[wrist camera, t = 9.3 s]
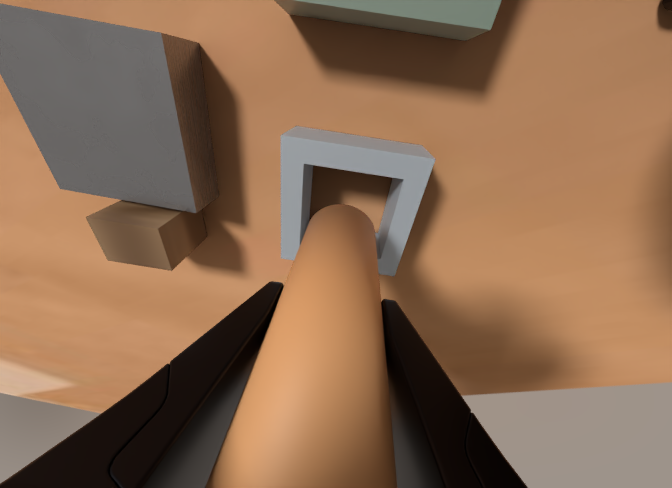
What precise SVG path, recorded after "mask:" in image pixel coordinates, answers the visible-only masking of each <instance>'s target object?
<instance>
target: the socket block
mask: <svg viewBox="0 0 672 488" xmlns="http://www.w3.org/2000/svg"><path fill="white" fill-rule="evenodd" d="M434 162H435V158H434V157H433V156H432V155H431V154H430V153H429V152H428V151H427V150H426V149H425V148H424V147H423V146H422V145H416V144H410V143H403V142H397V141H391V140H384V139H378V138H371V137H365V136H358V135H352V134H345V133H339V132H332V131H326V130H320V129H313V128H307V127H300V126H295V127H294V128H292V129H290V130H289V131H287V132H285V133H284V134H282V135H281V258H282V259H288V260H294V259H295V257H296V254H297V252H298V249H299V247H300V244H301V242H302V239H303V237H304V234H305V231H306V229H307V226H308V224H309V217H310V203H311V189H312V176H313V165H315V166H322V167H328V168H334V169H341V170H347V171H354V172H360V173H366V174H373V175H379V176H386V177H392V182H391V186H390V190H389V193H388V197H387V201H386V205H385V209H384V212H383V216H382V220H381V224H380V227H379V231H378V233H375V237H376V249H377V260H378V272H379V274H383V275H389V276H395V273H396V271H397V268H398V265H399V262H400V259H401V256H402V253H403V251H404V248H405V245H406V242H407V239H408V236H409V233H410V231H411V228H412V225H413V222H414V219H415V216H416V213H417V211H418V208H419V205H420V202H421V199H422V196H423V194H424V191H425V188H426V185H427V182H428V179H429V176H430V174H431V171H432V168H433V165H434Z"/></svg>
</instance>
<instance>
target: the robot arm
mask: <svg viewBox="0 0 672 488" xmlns="http://www.w3.org/2000/svg"><path fill="white" fill-rule="evenodd" d="M663 6H664V8H665V9H667V10H669V11H672V0H663ZM283 288H284V286H283V284H282V283H280V282H274V281H271V282H269V283H268V284H266V285H265V286H264V287H263V288H261V289H260V290H259V291H258V292H256V293H255V294H254V295H253V296H251V297H250V298H249V299H248V300H246V301H245V302H244V303H243V304H241V305H240V306H239V307H238V308H236V309H235V310H234V311H233V312H231V313H230V314H229V315H228V316H226V317H225V318H224V319H223V320H221V321H220V322H219V323H218V324H216V325H215V326H214V327H213V328H211V329H210V330H209V331H208V332H206V333H205V334H204V335H203V336H201V337H200V338H199V339H198V340H196V341H195V342H194V343H193V344H191V345H190V346H189V347H188V348H187V349H185V350H184V351H183V352H182V353H180V354H179V355H178V356H177V357H175V358H174V359H173V360H172V361H171V362H170V364H166V365H165V366H164V367H163V368H161V369H160V370H159V371H158V372H156V373H155V374H154V375H153V376H151V377H150V378H149V379H147V380H146V381H145V382H144V383H142V384H141V385H140V386H138V387H137V388H136V389H134V390H133V391H132V392H131V393H129V394H128V395H127V396H125V397H124V398H123V399H121V400H120V401H118V402H117V403H116V404H114V405H113V406H111V407H110V408H109V409H107V410H106V411H104V412H103V413H102V414H100V415H99V416H98V417H96V418H95V419H93V420H92V421H90V422H89V423H88V424H86V425H85V426H83V427H82V428H80V429H79V430H77V431H76V432H75V433H73V434H72V435H70V436H69V437H67V438H66V439H65V440H63V441H61V442H60V443H59V444H57V445H56V446H54V447H53V448H51V449H50V450H49V451H47V452H46V453H44V454H43V455H41V456H40V457H38V458H37V459H36V460H34V461H33V462H31V463H30V464H28V465H27V466H25V467H24V468H23V469H21V470H20V471H18V472H17V473H15V474H14V475H13V476H11V477H10V478H8V479H7V480H5V481H4V482H2V483H1V484H0V488H205V486H206V484H207V481H208V479H209V476H210V474H211V471H212V468H213V466H214V463H215V461H216V458H217V456H218V453H219V451H220V448H221V446H222V443H223V440H224V438H225V435H226V433H227V430H228V428H229V425H230V423H231V420H232V417H233V415H234V412H235V410H236V407H237V405H238V402H239V400H240V397H241V395H242V392H243V389H244V387H245V384H246V382H247V379H248V377H249V374H250V372H251V369H252V367H253V364H254V361H255V359H256V356H257V354H258V351H259V349H260V346H261V344H262V341H263V338H264V336H265V333H266V331H267V328H268V326H269V323H270V321H271V318H272V316H273V313H274V310H275V308H276V305H277V303H278V300H279V298H280V295H281V293H282V290H283ZM381 306H382V317H383V329H384V340H385V351H386V363H387V374H388V386H389V397H390V409H391V420H392V431H393V443H394V454H395V466H396V477H397V488H527V486H526V485H525V483H524V482H523V481H522V480H521V478H520V477H519V476H518V474H517V473H516V472H515V470H514V469H513V468H512V466H511V465H510V464H509V462H508V461H507V460H506V459H505V457H504V456H503V455H502V453H501V452H500V450H499V449H498V448H497V446H496V445H495V443H494V442H493V441H492V439H491V438H490V436H489V435H488V434H487V432H486V431H485V429H484V428H483V427H482V425H481V424H480V422H479V421H478V419H477V418H476V416H475V415H474V414H473V413H471V409H470V408H469V406H468V405H467V404H466V402H465V401H464V399H463V398H462V396H461V395H460V393H459V392H458V391H457V389H456V388H455V386H454V385H453V383H452V382H451V380H450V379H449V377H448V376H447V375H446V373H445V372H444V370H443V369H442V367H441V366H440V364H439V363H438V362H437V360H436V359H435V357H434V356H433V354H432V353H431V351H430V350H429V348H428V347H427V346H426V344H425V343H424V341H423V340H422V338H421V337H420V335H419V334H418V333H417V331H416V330H415V328H414V327H413V325H412V324H411V322H410V321H409V320H408V318H407V317H406V315H405V314H404V312H403V311H402V309H401V308H400V306H399V305H398V304H397V302H396V301H394V300H387V299H383V300H382V302H381Z"/></svg>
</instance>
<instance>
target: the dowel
mask: <svg viewBox="0 0 672 488" xmlns="http://www.w3.org/2000/svg"><path fill="white" fill-rule="evenodd" d="M205 488H397V477H396V466H395V454H394V443H393V431H392V420H391V409H390V397H389V386H388V374H387V363H386V351H385V340H384V329H383V317H382V306H381V294H380V283H379V272H378V260H377V249H376V237H375V229H374V226H373V224H372V222H371V220H370V218H369V217H368V216H367V215H366V214H365V213H364V212H362V211H361V210H359V209H357V208H355V207H352V206H349V205H343V204H336V205H330V206H327V207H324V208H322V209H321V210H319V211H318V212H316V213H315V214H314V215H313V217H312V218H311V220H310V222H309V224H308V226H307V229H306V231H305V234H304V237H303V239H302V242H301V244H300V247H299V249H298V252H297V254H296V257H295V259H294V262H293V265H292V267H291V270H290V272H289V275H288V277H287V280H286V282H285V285H284V288H283V290H282V293H281V295H280V298H279V300H278V303H277V305H276V308H275V310H274V313H273V316H272V318H271V321H270V323H269V326H268V328H267V331H266V333H265V336H264V338H263V341H262V344H261V346H260V349H259V351H258V354H257V356H256V359H255V361H254V364H253V367H252V369H251V372H250V374H249V377H248V379H247V382H246V384H245V387H244V389H243V392H242V395H241V397H240V400H239V402H238V405H237V407H236V410H235V412H234V415H233V417H232V420H231V423H230V425H229V428H228V430H227V433H226V435H225V438H224V440H223V443H222V446H221V448H220V451H219V453H218V456H217V458H216V461H215V463H214V466H213V468H212V471H211V474H210V476H209V479H208V481H207V484H206V486H205Z"/></svg>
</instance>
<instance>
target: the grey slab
mask: <svg viewBox="0 0 672 488" xmlns="http://www.w3.org/2000/svg"><path fill="white" fill-rule="evenodd" d="M0 74H1V76H2V78H3V80H4V82H5V84H6V85H7V87H8V89H9V91H10V93H11V95H12V97H13V99H14V101H15V103H16V105H17V107H18V109H19V111H20V112H21V114H22V116H23V118H24V120H25V122H26V124H27V126H28V128H29V130H30V132H31V134H32V136H33V138H34V139H35V141H36V143H37V145H38V147H39V149H40V151H41V153H42V155H43V157H44V159H45V161H46V163H47V165H48V166H49V168H50V170H51V172H52V174H53V176H54V178H55V180H56V182H57V184H58V186H59V188H60V189H64V190H70V191H75V192H81V193H87V194H92V195H98V196H103V197H109V198H114V199H120V200H126V201H131V202H137V203H142V204H148V205H154V206H159V207H165V208H170V209H176V210H181V211H187V212H193V213H197V212H199V211H200V210H201V209H203V208H204V207H205V206H207V205H208V204H209V203H211V202H212V201H213V200H214V199H216V198H217V197H218V196H219V191H218V183H217V176H216V168H215V160H214V153H213V145H212V138H211V130H210V123H209V115H208V107H207V100H206V92H205V85H204V77H203V69H202V62H201V54H200V47H199V43H197V42H193V41H190V40H186V39H182V38H178V37H175V36H171V35H167V34H163V33H159V32H153V31H148V30H142V29H137V28H131V27H126V26H120V25H115V24H109V23H104V22H98V21H93V20H87V19H82V18H76V17H71V16H65V15H60V14H54V13H49V12H43V11H38V10H32V9H27V8H21V7H16V6H11V5H5V4H0Z"/></svg>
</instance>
